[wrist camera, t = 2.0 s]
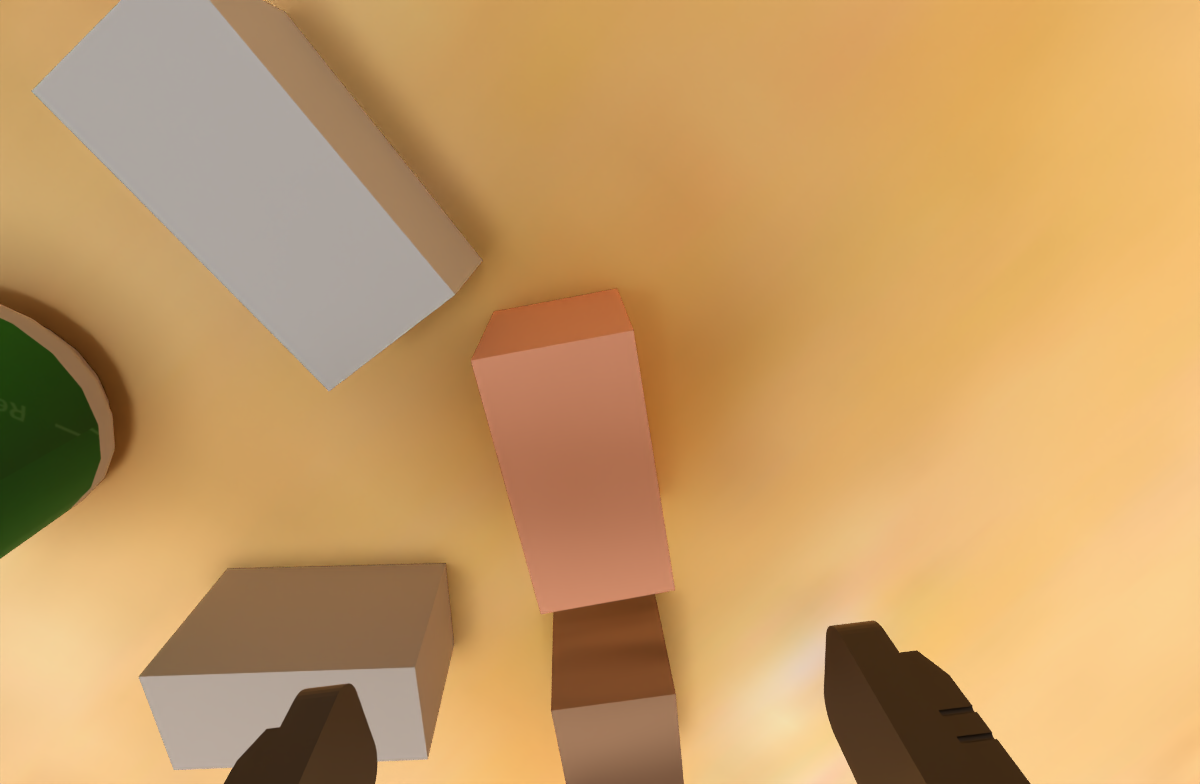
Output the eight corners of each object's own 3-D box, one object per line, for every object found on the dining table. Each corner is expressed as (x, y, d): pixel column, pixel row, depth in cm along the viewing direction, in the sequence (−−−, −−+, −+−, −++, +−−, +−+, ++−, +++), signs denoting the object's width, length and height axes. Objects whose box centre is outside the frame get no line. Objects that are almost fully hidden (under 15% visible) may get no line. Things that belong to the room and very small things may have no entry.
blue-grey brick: (184, 110, 16) (31, 91, 12) (287, 13, 15) (168, -49, 11) (387, 334, 19) (329, 391, 14) (483, 259, 18) (455, 294, 13)
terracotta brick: (494, 310, 19) (470, 360, 14) (616, 287, 19) (633, 330, 14) (546, 517, 22) (540, 614, 17) (651, 497, 22) (675, 589, 17)
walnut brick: (553, 600, 23) (551, 711, 19) (653, 587, 23) (675, 694, 19) (579, 739, 26) (582, 864, 22) (667, 728, 26) (689, 850, 22)
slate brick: (251, 647, 23) (173, 770, 19) (229, 566, 22) (138, 676, 17) (454, 641, 24) (427, 759, 19) (446, 561, 22) (415, 667, 18)
